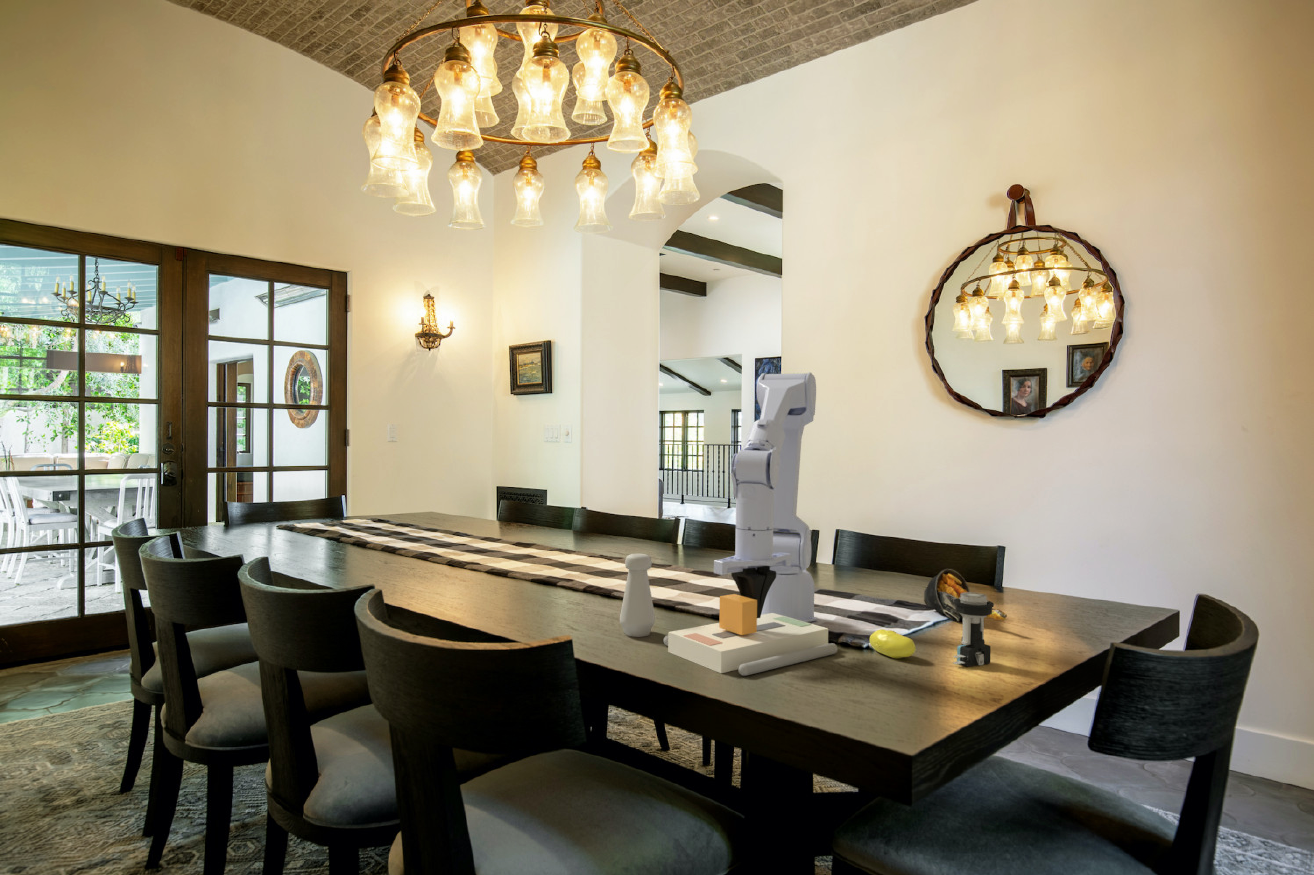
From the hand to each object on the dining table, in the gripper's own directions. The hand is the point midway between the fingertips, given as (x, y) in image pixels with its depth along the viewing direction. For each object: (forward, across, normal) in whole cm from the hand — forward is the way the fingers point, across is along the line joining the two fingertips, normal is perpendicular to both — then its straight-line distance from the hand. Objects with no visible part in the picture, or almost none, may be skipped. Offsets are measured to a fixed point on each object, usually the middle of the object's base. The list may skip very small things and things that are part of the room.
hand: (752, 617), depth 114 cm
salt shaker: (+5, -10, +17) cm, 20 cm away
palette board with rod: (+5, -1, 0) cm, 5 cm away
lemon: (+5, +15, -14) cm, 21 cm away
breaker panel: (+5, -1, 0) cm, 5 cm away
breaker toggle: (+1, -3, 0) cm, 3 cm away
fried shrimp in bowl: (+5, +44, -8) cm, 45 cm away
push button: (+5, +21, -23) cm, 32 cm away
